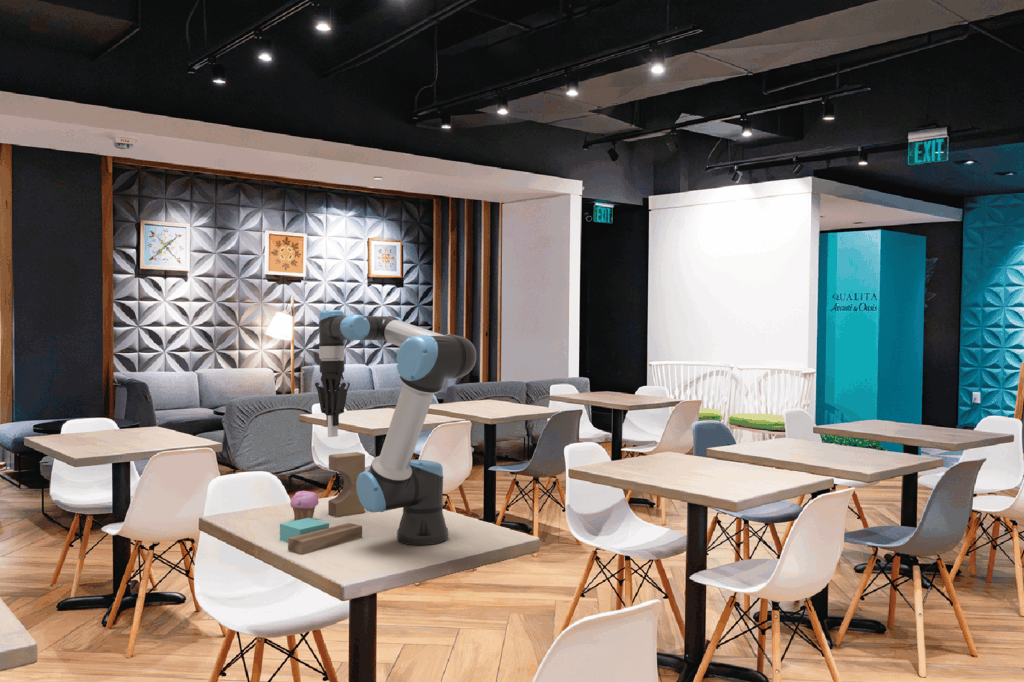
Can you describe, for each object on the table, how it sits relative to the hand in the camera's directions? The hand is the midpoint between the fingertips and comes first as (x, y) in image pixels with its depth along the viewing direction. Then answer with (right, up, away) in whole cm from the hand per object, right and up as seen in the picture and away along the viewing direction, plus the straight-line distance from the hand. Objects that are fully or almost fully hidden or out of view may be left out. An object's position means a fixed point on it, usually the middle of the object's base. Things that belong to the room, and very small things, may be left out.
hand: (332, 436), depth 234 cm
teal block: (-5, -29, -12) cm, 32 cm away
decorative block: (0, -29, +21) cm, 36 cm away
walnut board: (+2, -29, -16) cm, 33 cm away
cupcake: (-11, -29, +9) cm, 32 cm away
